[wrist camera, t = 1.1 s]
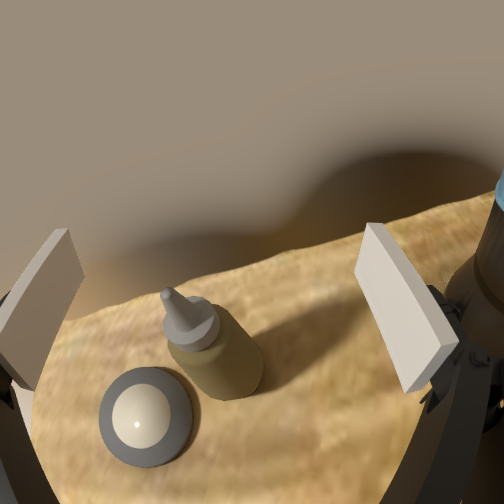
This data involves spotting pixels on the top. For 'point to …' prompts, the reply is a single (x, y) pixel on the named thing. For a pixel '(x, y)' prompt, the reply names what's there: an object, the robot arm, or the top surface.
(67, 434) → the top surface
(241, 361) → the squeeze bottle
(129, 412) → the coaster
